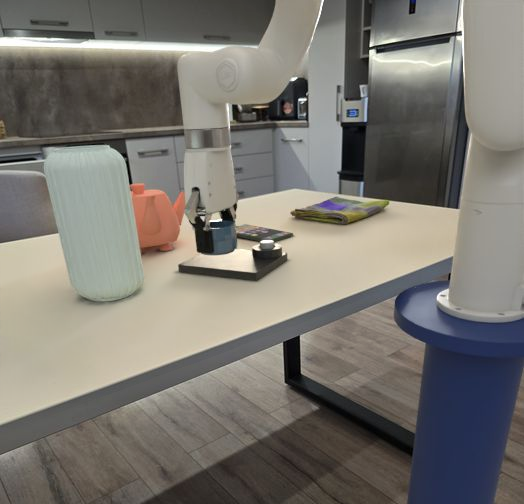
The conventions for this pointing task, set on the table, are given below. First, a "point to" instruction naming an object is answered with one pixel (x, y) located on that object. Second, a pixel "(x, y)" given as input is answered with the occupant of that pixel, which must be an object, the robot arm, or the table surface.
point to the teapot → (156, 216)
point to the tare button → (266, 244)
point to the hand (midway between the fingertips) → (217, 246)
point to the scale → (237, 263)
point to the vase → (95, 220)
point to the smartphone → (261, 233)
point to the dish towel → (340, 210)
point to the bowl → (223, 237)
